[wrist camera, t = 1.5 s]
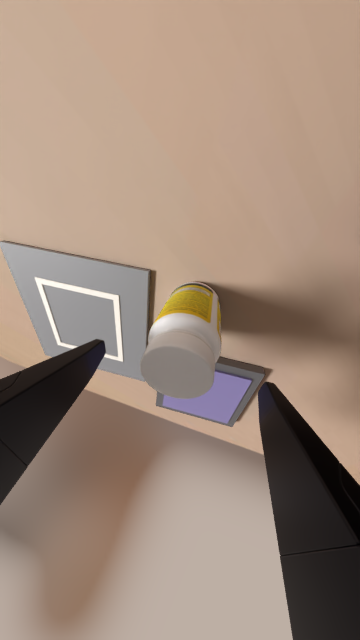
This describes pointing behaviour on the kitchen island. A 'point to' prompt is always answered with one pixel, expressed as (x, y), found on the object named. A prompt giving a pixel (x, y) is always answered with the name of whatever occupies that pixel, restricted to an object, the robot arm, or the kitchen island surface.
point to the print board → (84, 304)
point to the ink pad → (220, 393)
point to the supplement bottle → (184, 343)
